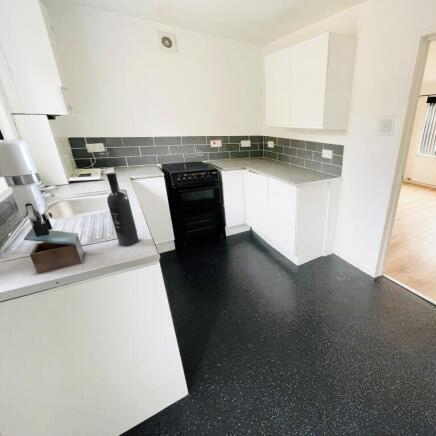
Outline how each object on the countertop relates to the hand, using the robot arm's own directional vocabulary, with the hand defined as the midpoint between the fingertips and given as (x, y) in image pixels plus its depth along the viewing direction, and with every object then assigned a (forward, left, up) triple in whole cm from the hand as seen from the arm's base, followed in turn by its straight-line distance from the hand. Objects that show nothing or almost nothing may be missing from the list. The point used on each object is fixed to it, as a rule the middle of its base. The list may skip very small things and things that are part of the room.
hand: (44, 232), depth 84 cm
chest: (+1, +1, -13) cm, 13 cm away
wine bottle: (+18, +14, -13) cm, 26 cm away
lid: (+1, +1, -2) cm, 3 cm away
